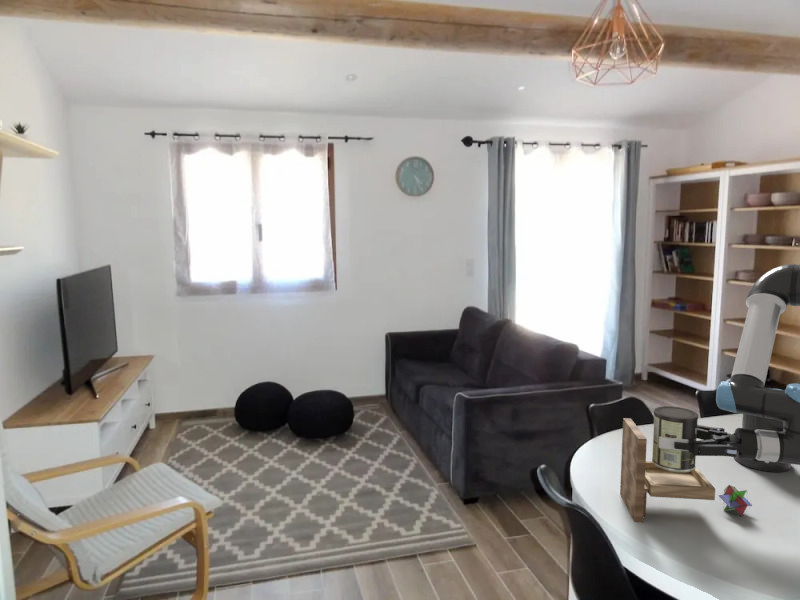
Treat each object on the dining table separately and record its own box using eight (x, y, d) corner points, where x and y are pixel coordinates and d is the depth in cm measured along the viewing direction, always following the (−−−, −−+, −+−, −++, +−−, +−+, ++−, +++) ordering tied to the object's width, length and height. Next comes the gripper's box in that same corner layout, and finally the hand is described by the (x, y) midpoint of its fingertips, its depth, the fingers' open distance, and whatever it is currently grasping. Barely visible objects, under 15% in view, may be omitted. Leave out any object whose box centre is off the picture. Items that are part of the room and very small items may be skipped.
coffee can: (688, 457, 147) (691, 406, 145) (701, 474, 137) (704, 419, 135) (647, 455, 149) (649, 404, 147) (656, 471, 139) (659, 417, 137)
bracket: (712, 526, 136) (718, 441, 133) (634, 521, 139) (638, 438, 136) (690, 497, 151) (695, 420, 148) (620, 493, 154) (623, 418, 151)
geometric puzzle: (763, 512, 138) (749, 480, 142) (740, 515, 137) (726, 483, 141) (743, 517, 145) (730, 486, 148) (721, 520, 143) (708, 488, 147)
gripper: (767, 478, 126) (661, 465, 133) (741, 442, 147) (651, 433, 154) (770, 446, 125) (663, 436, 132) (743, 415, 146) (652, 407, 153)
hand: (656, 434), depth 143 cm, fingers closed on coffee can, 10 cm apart
